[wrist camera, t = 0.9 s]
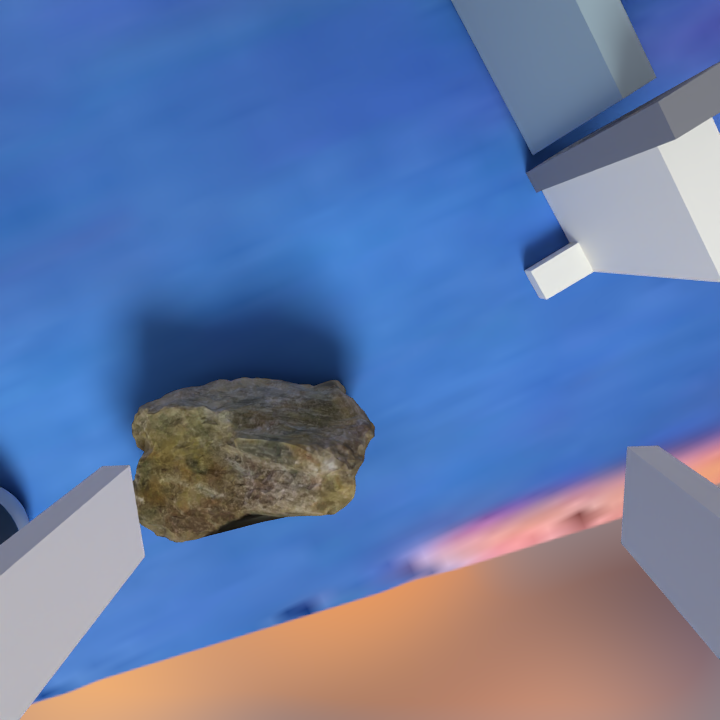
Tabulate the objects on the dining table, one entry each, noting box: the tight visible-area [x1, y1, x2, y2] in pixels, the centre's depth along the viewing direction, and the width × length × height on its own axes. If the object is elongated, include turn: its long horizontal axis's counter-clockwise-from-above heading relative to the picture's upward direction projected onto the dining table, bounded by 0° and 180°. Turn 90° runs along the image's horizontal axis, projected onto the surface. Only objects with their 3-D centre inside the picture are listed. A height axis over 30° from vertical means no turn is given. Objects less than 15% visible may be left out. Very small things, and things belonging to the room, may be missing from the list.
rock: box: [132, 377, 375, 542], centre depth 36 cm, size 19×10×10 cm
